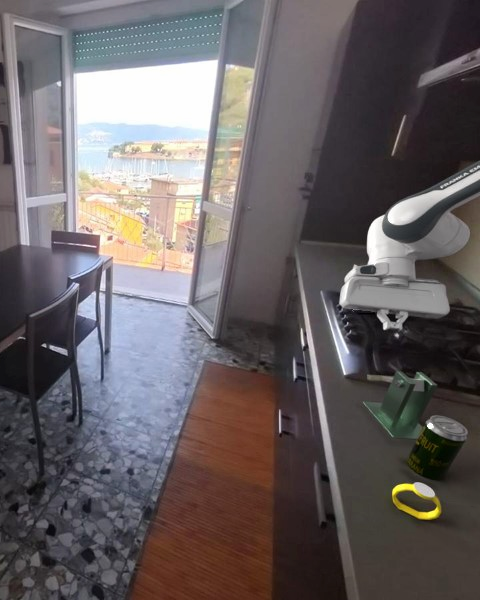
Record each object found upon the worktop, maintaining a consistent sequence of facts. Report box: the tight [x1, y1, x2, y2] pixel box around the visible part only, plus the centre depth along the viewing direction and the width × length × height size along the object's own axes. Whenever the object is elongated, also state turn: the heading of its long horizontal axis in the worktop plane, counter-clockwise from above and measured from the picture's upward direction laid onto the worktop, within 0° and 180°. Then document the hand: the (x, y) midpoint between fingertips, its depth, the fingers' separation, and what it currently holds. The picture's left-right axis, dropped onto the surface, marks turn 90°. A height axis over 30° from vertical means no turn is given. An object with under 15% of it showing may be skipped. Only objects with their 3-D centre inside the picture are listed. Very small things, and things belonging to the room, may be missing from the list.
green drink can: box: [406, 414, 469, 482], centre depth 66 cm, size 5×5×12 cm
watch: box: [391, 481, 442, 521], centre depth 61 cm, size 6×3×6 cm, turn 51°
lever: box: [366, 374, 424, 392], centre depth 79 cm, size 11×6×2 cm, turn 172°
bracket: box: [362, 370, 438, 440], centre depth 77 cm, size 11×8×13 cm
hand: (392, 330), depth 82 cm, fingers closed
